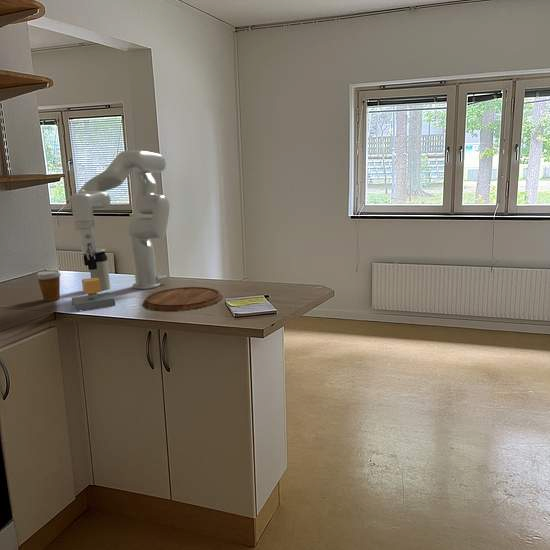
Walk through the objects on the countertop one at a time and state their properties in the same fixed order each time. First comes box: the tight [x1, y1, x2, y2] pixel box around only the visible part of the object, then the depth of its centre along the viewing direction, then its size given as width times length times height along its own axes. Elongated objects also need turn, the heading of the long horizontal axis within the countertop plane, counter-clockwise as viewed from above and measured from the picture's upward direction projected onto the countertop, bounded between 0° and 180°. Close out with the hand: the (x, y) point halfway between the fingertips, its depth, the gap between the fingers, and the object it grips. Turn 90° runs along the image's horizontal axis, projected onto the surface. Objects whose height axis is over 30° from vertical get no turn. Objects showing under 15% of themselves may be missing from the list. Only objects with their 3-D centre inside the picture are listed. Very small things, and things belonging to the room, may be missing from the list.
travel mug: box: [89, 248, 111, 291], centre depth 245 cm, size 8×8×18 cm
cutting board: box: [143, 286, 223, 312], centre depth 220 cm, size 32×32×2 cm
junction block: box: [71, 291, 116, 312], centre depth 217 cm, size 15×12×10 cm
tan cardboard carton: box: [81, 277, 102, 295], centre depth 217 cm, size 6×6×5 cm
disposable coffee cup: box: [36, 269, 62, 302], centre depth 229 cm, size 10×10×12 cm
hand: (90, 267), depth 216 cm, fingers open, 9 cm apart
